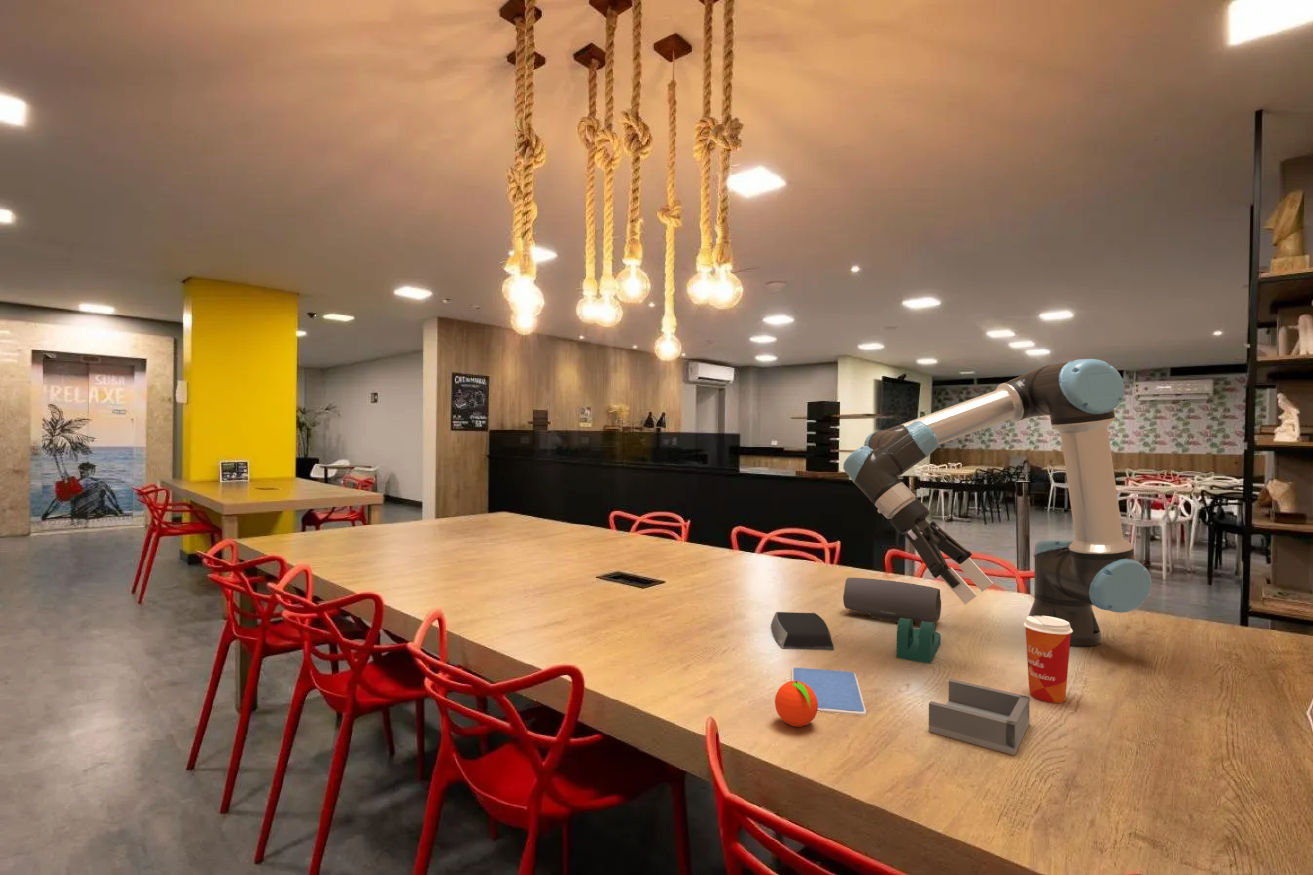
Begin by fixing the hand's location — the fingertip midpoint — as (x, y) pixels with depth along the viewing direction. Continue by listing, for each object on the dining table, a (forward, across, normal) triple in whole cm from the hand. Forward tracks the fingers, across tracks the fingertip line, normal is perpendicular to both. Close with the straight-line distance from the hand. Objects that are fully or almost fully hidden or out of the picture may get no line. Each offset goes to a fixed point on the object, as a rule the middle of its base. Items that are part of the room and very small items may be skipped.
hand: (980, 593), depth 123 cm
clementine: (0, +40, -25) cm, 48 cm away
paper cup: (+20, 0, -4) cm, 21 cm away
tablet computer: (-2, +24, -28) cm, 36 cm away
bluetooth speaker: (-7, -32, -32) cm, 45 cm away
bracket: (+2, -12, -23) cm, 26 cm away
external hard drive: (-15, -3, -40) cm, 43 cm away
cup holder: (+15, +22, -9) cm, 28 cm away
